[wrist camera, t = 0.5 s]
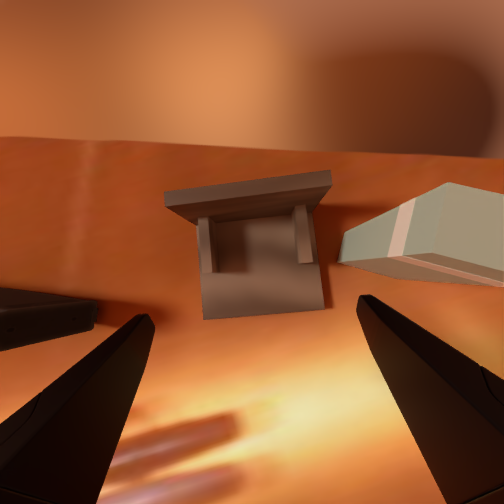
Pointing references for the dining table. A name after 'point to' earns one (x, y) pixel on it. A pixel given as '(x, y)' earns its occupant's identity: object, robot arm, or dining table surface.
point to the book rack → (256, 243)
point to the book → (434, 238)
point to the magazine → (41, 317)
